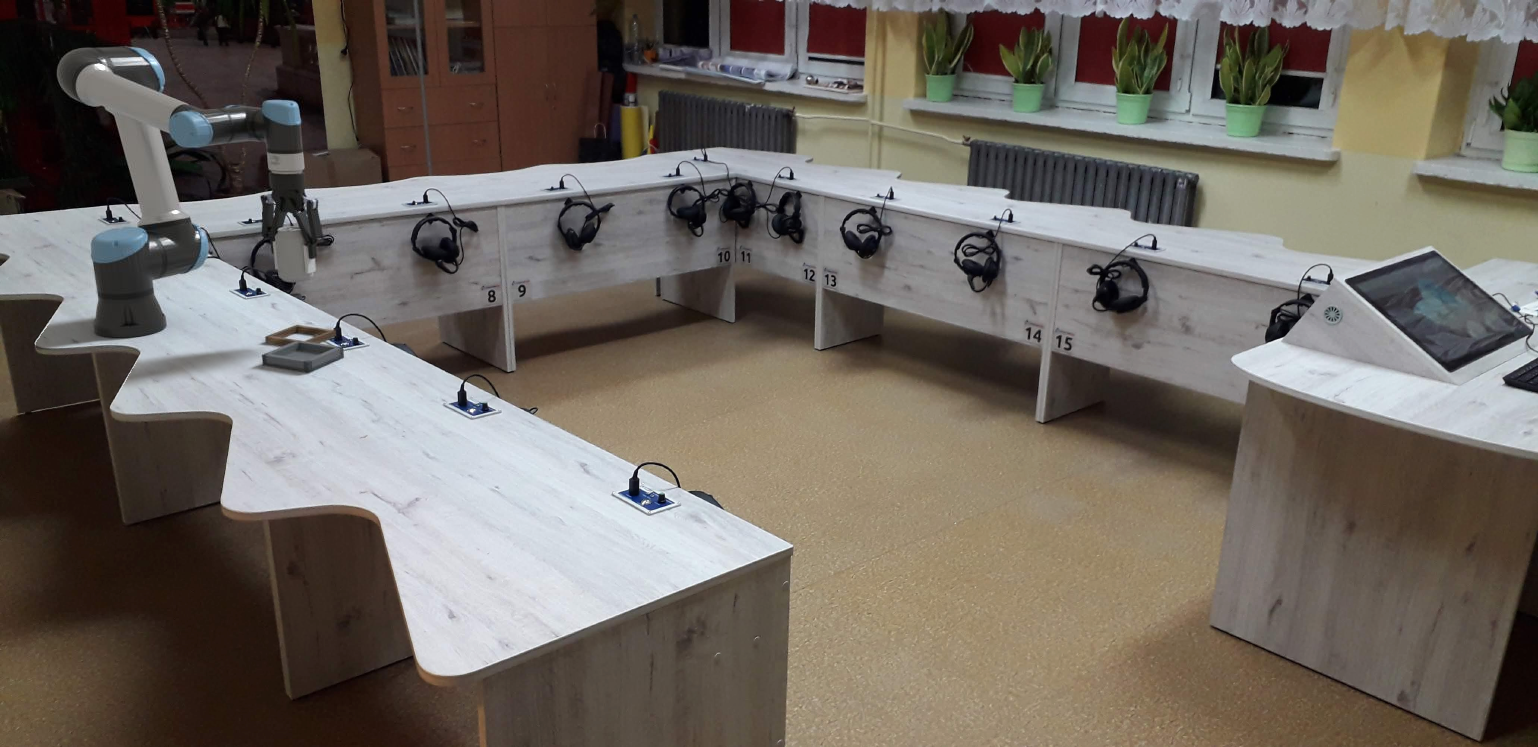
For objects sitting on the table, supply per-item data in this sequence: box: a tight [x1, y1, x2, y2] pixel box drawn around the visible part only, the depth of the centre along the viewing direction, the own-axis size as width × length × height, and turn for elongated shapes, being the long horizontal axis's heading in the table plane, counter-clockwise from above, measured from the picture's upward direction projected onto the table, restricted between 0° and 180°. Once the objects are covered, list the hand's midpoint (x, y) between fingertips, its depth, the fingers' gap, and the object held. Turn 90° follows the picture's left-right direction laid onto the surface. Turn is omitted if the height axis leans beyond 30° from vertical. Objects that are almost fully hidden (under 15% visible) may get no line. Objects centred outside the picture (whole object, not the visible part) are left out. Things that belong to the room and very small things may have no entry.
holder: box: [264, 324, 337, 347], centre depth 264 cm, size 11×11×2 cm
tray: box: [261, 339, 345, 374], centre depth 249 cm, size 12×12×2 cm
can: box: [275, 225, 314, 283], centre depth 257 cm, size 8×8×12 cm
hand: (295, 270), depth 258 cm, fingers closed on can, 7 cm apart
